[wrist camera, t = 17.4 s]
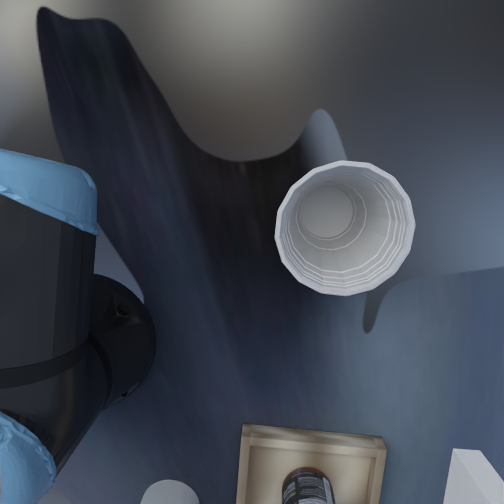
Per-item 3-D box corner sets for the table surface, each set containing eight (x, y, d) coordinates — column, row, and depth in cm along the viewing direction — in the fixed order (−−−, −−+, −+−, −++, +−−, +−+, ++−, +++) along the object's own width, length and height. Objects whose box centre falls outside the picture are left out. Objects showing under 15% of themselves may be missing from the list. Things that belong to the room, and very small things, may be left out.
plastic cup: (279, 268, 47) (280, 304, 35) (269, 166, 44) (268, 167, 33) (381, 260, 46) (419, 293, 34) (377, 155, 44) (415, 152, 32)
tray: (234, 525, 53) (233, 542, 51) (242, 423, 50) (241, 436, 48) (366, 539, 53) (370, 557, 50) (381, 436, 50) (386, 450, 48)
